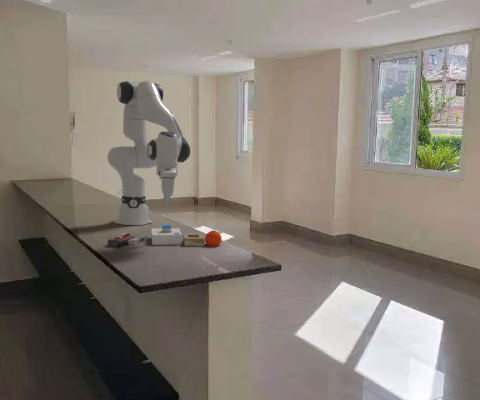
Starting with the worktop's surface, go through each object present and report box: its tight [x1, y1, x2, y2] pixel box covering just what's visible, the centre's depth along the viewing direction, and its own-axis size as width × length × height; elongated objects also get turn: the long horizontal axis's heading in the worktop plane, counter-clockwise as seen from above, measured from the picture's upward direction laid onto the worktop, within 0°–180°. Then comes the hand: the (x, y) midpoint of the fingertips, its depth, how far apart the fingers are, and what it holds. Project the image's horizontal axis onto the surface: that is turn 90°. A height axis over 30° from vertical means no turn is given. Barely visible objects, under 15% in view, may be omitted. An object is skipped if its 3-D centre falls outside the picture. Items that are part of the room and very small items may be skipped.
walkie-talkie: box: [107, 232, 149, 248], centre depth 207 cm, size 9×4×20 cm
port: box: [150, 227, 183, 246], centre depth 209 cm, size 14×12×5 cm
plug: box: [161, 223, 172, 233], centre depth 208 cm, size 4×4×7 cm
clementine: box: [204, 229, 222, 247], centre depth 205 cm, size 8×7×7 cm
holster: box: [182, 233, 205, 247], centre depth 206 cm, size 10×8×4 cm
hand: (166, 203), depth 207 cm, fingers open, 8 cm apart
